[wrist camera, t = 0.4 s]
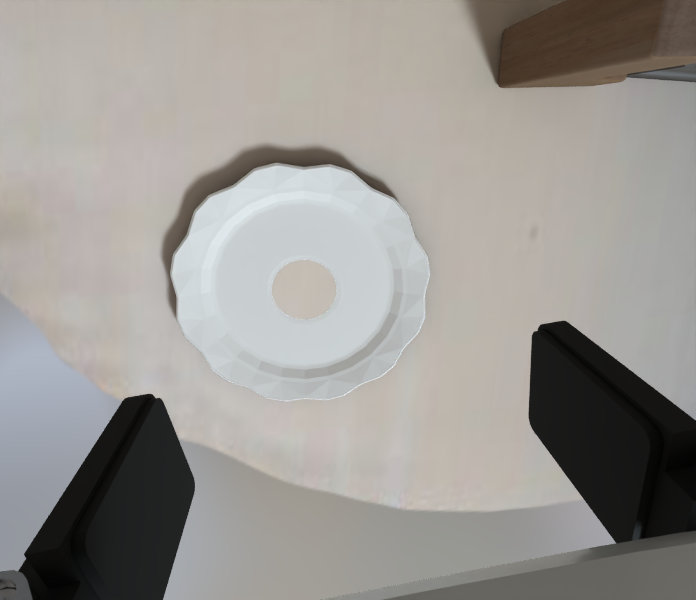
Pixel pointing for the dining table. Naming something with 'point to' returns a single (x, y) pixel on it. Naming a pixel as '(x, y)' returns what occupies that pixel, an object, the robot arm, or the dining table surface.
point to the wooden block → (597, 42)
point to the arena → (669, 73)
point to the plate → (285, 247)
